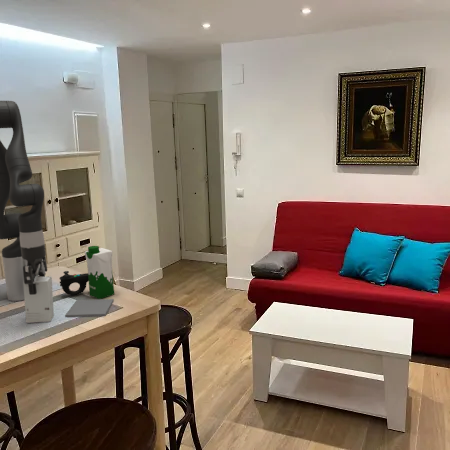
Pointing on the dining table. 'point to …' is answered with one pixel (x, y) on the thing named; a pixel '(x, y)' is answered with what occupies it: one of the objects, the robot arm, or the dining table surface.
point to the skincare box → (39, 301)
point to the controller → (69, 279)
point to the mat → (90, 308)
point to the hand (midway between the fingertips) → (37, 289)
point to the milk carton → (100, 272)
